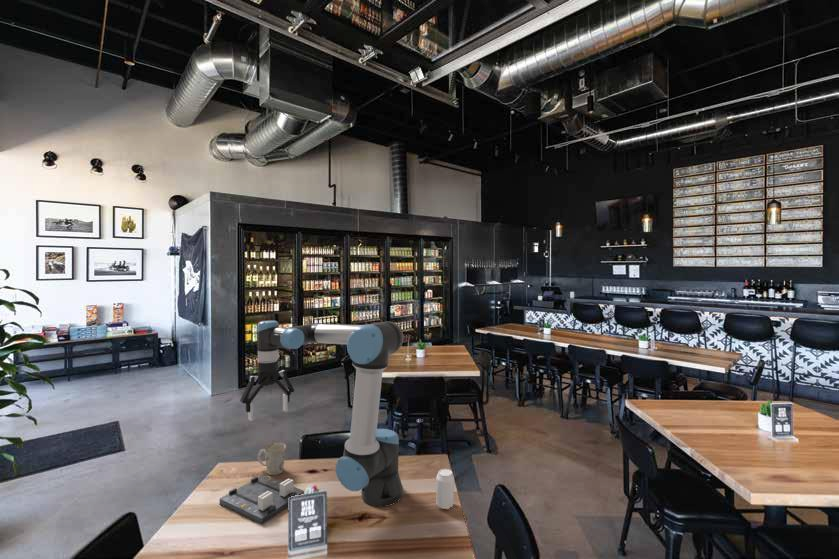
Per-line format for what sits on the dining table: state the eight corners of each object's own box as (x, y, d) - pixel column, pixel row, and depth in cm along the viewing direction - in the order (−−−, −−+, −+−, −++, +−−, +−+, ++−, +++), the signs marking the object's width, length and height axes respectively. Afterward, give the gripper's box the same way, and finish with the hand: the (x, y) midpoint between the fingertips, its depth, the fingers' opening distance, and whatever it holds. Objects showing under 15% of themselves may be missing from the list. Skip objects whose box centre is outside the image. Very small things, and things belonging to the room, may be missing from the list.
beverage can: (457, 506, 132) (457, 472, 132) (446, 514, 127) (446, 479, 127) (443, 498, 136) (444, 465, 136) (432, 506, 131) (432, 472, 131)
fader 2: (293, 491, 136) (293, 479, 136) (284, 496, 132) (284, 485, 132) (288, 489, 137) (288, 478, 137) (279, 494, 133) (279, 483, 133)
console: (304, 496, 137) (304, 488, 137) (261, 524, 121) (262, 515, 121) (263, 479, 147) (263, 472, 147) (219, 504, 131) (219, 495, 131)
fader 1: (272, 504, 128) (272, 492, 128) (262, 510, 124) (262, 498, 124) (267, 502, 129) (267, 490, 129) (257, 508, 126) (257, 496, 125)
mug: (278, 478, 149) (278, 453, 148) (250, 474, 151) (250, 449, 151) (290, 467, 157) (290, 443, 157) (263, 464, 159) (263, 440, 159)
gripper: (293, 354, 158) (294, 405, 158) (230, 364, 140) (231, 421, 140) (302, 357, 152) (302, 409, 153) (238, 368, 135) (238, 427, 135)
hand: (268, 415), depth 146 cm, fingers open, 13 cm apart
